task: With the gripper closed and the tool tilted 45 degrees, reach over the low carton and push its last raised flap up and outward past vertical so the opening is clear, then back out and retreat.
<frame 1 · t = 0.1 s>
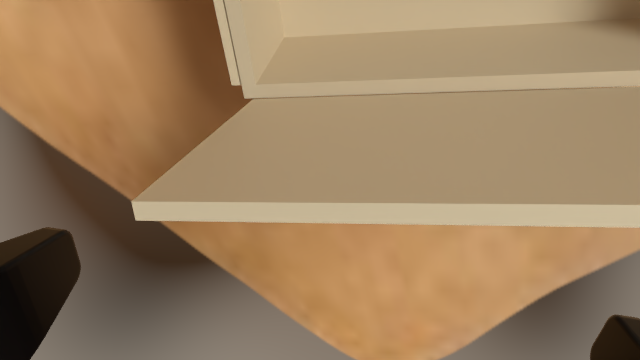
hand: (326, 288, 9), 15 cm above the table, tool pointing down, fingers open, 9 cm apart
flap: (512, 140, 12), point 10 cm above the table, hinge at -12.0°
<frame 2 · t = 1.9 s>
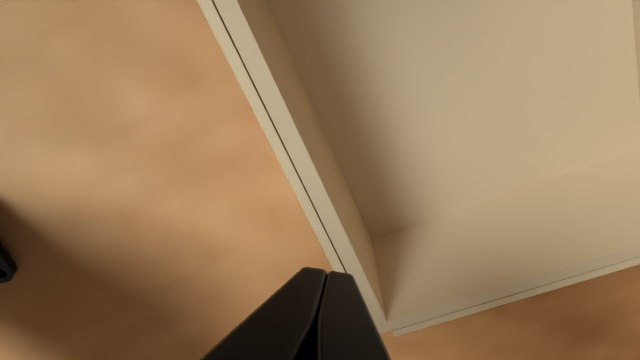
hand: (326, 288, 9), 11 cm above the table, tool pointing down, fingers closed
carton: (452, 14, 17), on the table
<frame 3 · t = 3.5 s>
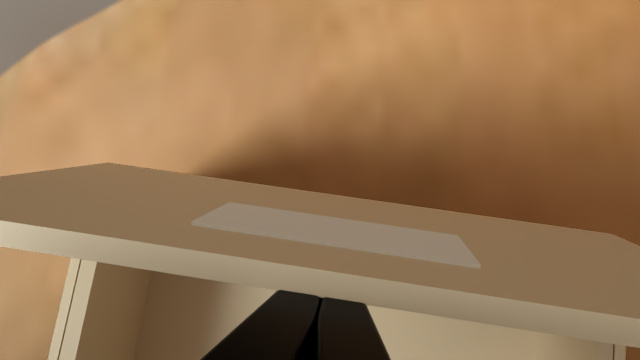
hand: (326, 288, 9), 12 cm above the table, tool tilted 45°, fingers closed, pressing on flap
flap: (340, 227, 11), point 9 cm above the table, hinge at -16.2°, touching gripper
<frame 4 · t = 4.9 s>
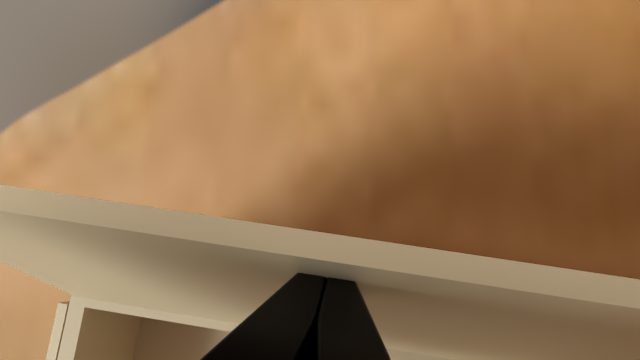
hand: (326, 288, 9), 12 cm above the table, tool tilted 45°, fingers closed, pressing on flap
flap: (329, 301, 11), point 9 cm above the table, hinge at 15.8°, touching gripper
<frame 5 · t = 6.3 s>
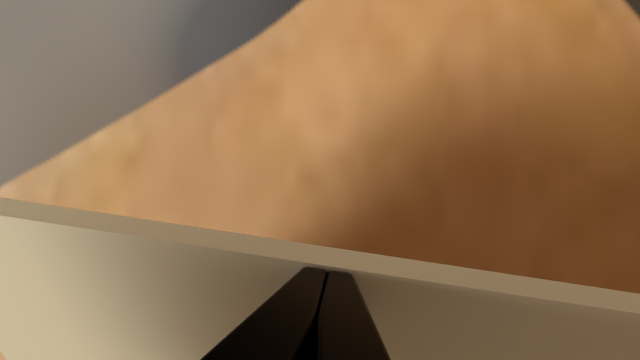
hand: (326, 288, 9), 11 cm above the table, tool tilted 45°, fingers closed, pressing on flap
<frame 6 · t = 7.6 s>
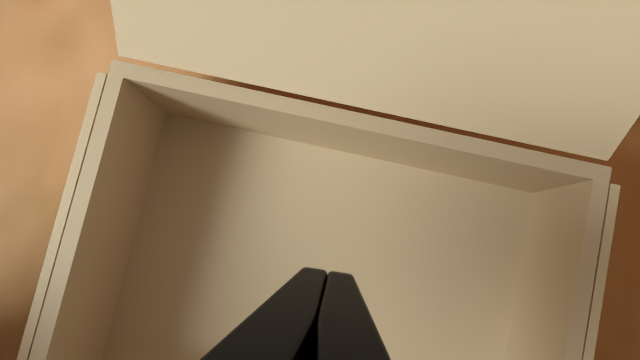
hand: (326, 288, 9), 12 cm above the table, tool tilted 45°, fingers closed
carton: (317, 288, 20), on the table
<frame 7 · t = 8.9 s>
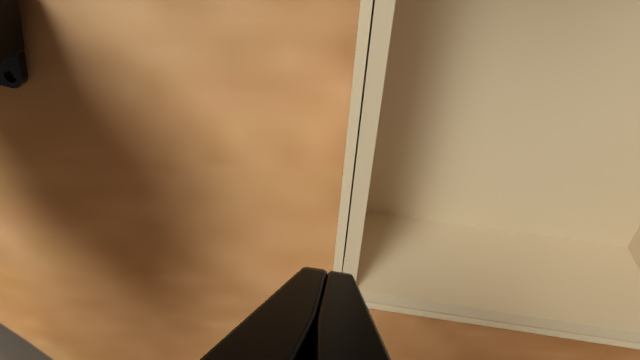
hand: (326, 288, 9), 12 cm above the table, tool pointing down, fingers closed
carton: (546, 57, 18), on the table
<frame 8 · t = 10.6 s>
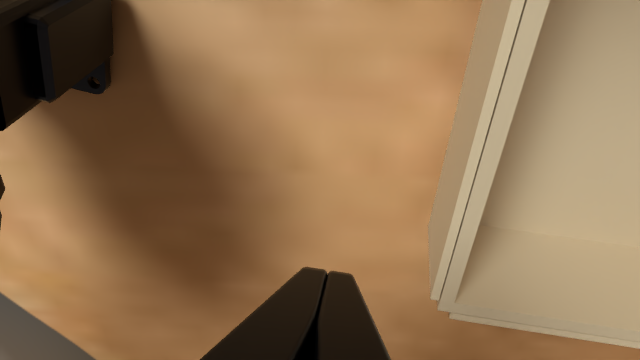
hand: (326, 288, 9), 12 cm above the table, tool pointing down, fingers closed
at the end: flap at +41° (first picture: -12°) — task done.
